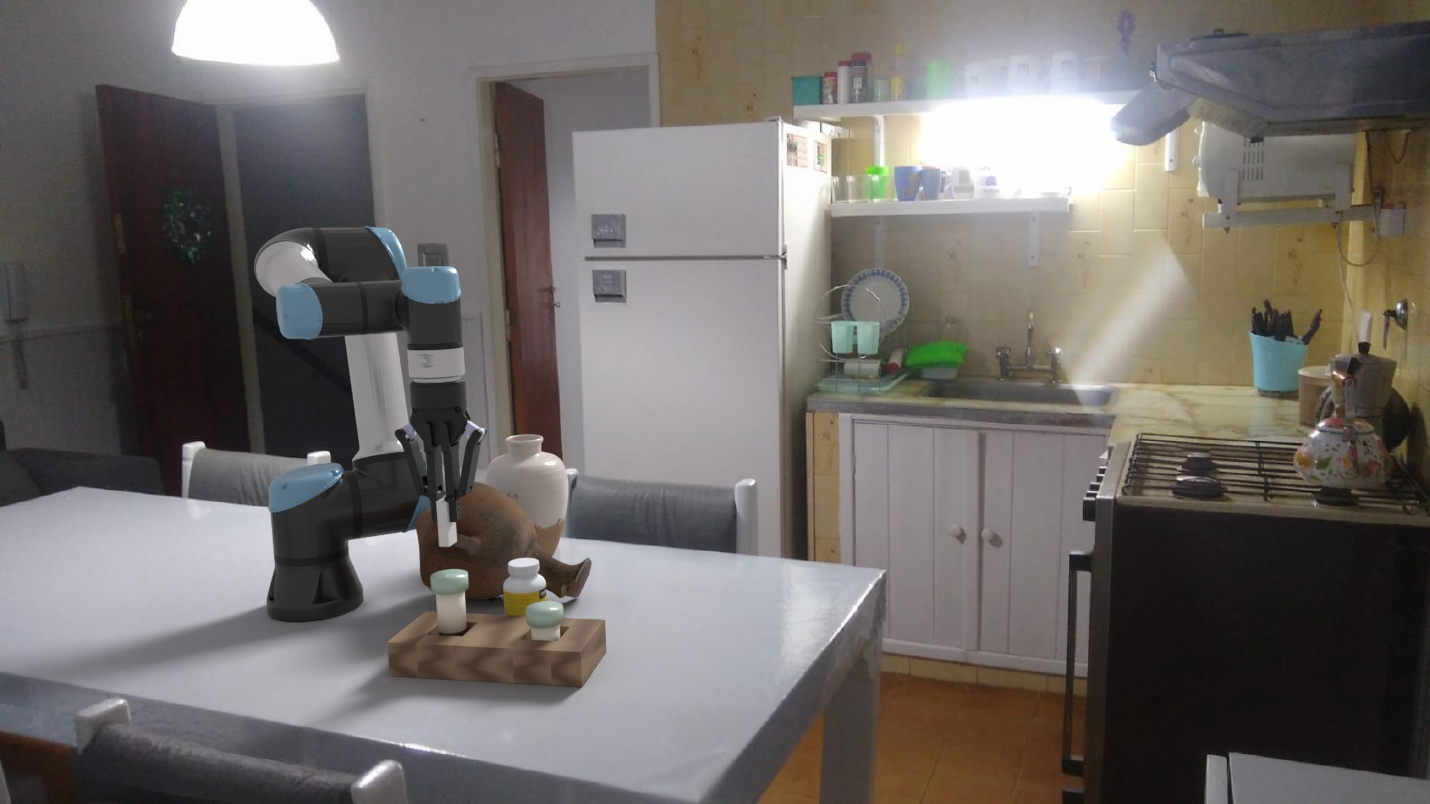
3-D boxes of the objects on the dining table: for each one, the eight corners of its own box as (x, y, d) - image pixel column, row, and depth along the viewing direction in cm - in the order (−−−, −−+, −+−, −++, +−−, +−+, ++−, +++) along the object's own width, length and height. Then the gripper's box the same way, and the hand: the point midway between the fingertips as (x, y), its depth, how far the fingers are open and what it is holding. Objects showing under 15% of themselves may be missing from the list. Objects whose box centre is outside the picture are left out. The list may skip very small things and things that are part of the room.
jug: (392, 605, 173) (556, 657, 167) (383, 513, 163) (559, 566, 157) (453, 532, 190) (605, 578, 184) (449, 445, 179) (610, 490, 173)
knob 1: (427, 634, 147) (423, 580, 146) (443, 621, 152) (439, 568, 151) (462, 636, 146) (458, 581, 145) (476, 622, 152) (473, 569, 150)
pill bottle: (539, 644, 156) (535, 570, 154) (499, 642, 157) (494, 568, 155) (554, 628, 162) (551, 556, 160) (515, 626, 164) (511, 554, 162)
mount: (389, 676, 146) (387, 642, 145) (427, 643, 157) (425, 611, 157) (582, 687, 141) (580, 652, 140) (606, 652, 152) (605, 619, 152)
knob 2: (523, 667, 146) (520, 613, 144) (535, 653, 151) (533, 600, 149) (558, 669, 145) (556, 614, 143) (570, 655, 150) (567, 601, 149)
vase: (563, 538, 211) (558, 427, 207) (578, 560, 196) (573, 441, 192) (483, 546, 206) (477, 433, 202) (493, 570, 191) (486, 448, 188)
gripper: (380, 382, 141) (392, 550, 145) (471, 382, 139) (481, 553, 142) (405, 375, 148) (417, 535, 152) (492, 375, 146) (501, 537, 150)
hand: (448, 543), depth 147 cm, fingers closed
